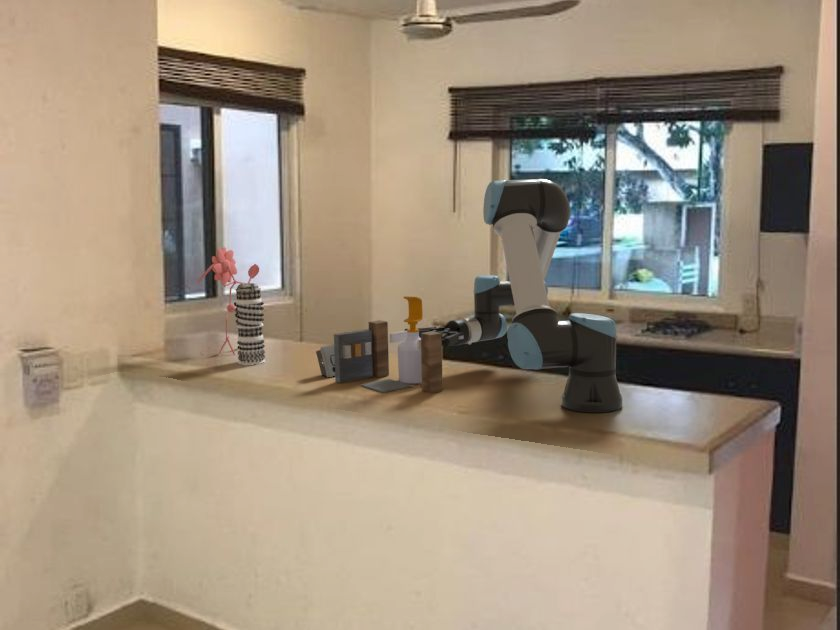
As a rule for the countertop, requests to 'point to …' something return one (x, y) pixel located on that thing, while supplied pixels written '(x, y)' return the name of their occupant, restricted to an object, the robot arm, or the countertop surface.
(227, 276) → the figurine
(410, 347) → the soap bottle
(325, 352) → the electrical switch
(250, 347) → the decorative candle
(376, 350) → the gate
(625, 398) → the countertop surface
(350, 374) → the breaker panel
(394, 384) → the pad
